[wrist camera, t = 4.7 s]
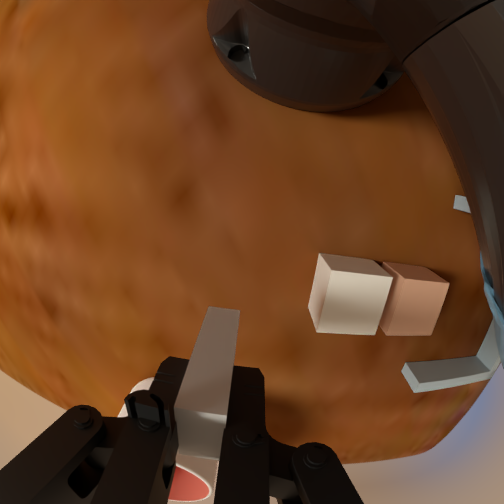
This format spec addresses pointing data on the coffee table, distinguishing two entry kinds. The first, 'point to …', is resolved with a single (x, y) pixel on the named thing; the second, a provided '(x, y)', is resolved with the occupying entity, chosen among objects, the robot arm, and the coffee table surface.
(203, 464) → the cup
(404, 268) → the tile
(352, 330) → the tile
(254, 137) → the coffee table surface
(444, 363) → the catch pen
